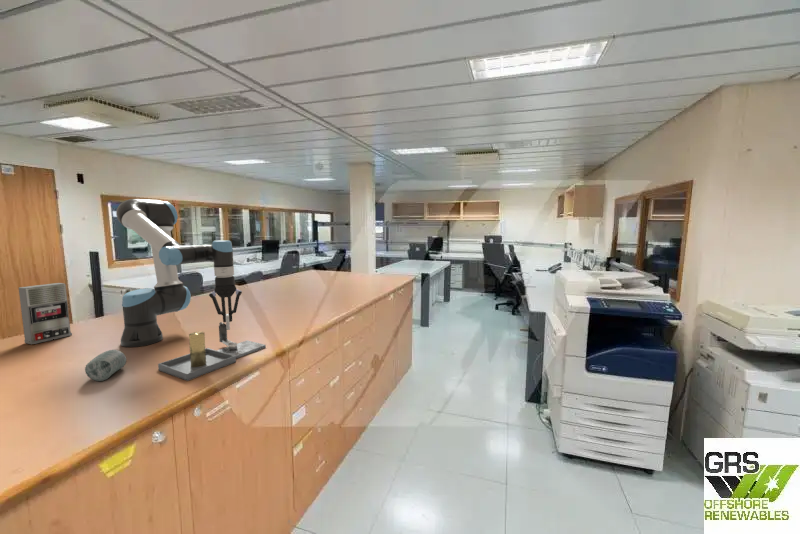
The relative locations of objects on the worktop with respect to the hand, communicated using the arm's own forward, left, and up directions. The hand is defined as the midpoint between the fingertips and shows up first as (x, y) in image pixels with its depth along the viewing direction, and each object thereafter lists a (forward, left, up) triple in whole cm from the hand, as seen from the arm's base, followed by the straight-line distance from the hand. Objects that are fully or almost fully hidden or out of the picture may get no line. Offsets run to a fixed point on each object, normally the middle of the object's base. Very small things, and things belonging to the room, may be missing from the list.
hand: (228, 328), depth 148 cm
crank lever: (+3, -3, -6) cm, 7 cm away
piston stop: (+10, -20, -7) cm, 23 cm away
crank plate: (+10, -2, -8) cm, 13 cm away
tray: (+10, -20, -8) cm, 24 cm away
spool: (-10, -40, -8) cm, 42 cm away
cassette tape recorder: (-77, -35, -8) cm, 85 cm away
